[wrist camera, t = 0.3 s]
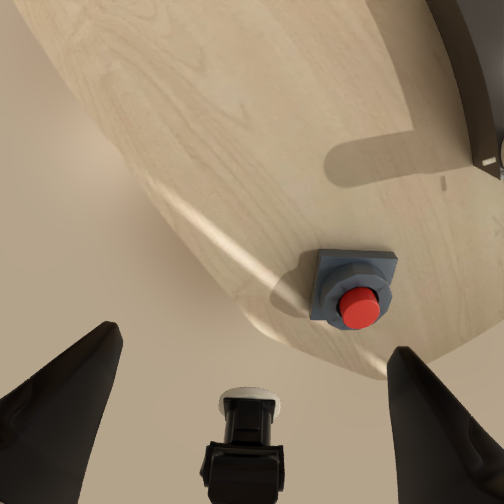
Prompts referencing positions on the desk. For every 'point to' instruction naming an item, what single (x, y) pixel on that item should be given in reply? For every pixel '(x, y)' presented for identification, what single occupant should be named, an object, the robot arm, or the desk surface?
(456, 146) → the desk surface
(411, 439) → the robot arm
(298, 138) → the desk surface
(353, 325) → the button
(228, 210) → the desk surface
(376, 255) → the button box
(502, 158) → the stove knob
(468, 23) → the hob panel
